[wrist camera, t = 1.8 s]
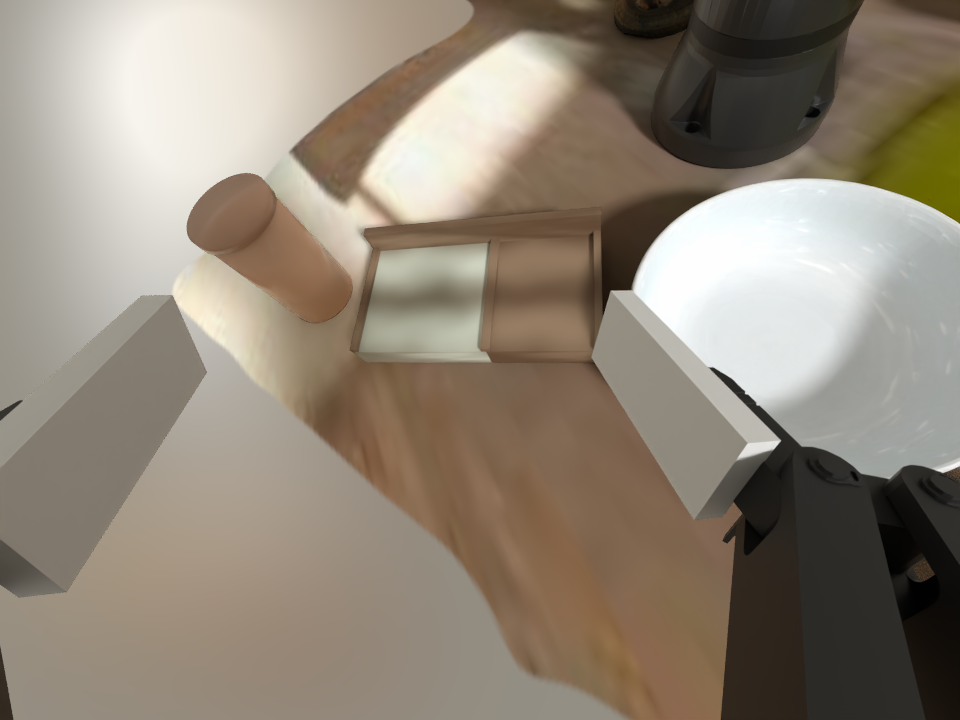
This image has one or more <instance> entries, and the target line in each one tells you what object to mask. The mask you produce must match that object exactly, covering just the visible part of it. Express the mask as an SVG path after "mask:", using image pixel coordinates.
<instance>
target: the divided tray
mask: <svg viewBox="0 0 960 720" xmlns="http://www.w3.org/2000/svg"><path fill="white" fill-rule="evenodd" d="M601 219H602V207H592V208H582V209H571V210H560V211H549V212H538V213H528V214H517V215H506V216H495V217H485V218H474V219H463V220H452V221H441V222H431V223H420V224H409V225H398V226H388V227H377V228H366V229H365V231H364V237H365V238H366V239H367V241H368V242H369V243H370V245H371V246H372V247H373V252H372V256H371V260H370V265H369V269H368V273H367V278H366V282H365V286H364V290H363V295H362V299H361V303H360V308H359V312H358V316H357V321H356V325H355V329H354V334H353V338H352V342H351V347H350V351H352V352H353V353H354V354H356V355H357V356H358V357H360V358H361V359H362V360H364V361H365V362H497V363H595V362H594V361H593V359H592V358H591V357H592V353H593V350H594V346H595V343H596V339H597V336H598V333H599V329H600V326H601V322H602V319H603V309H602V264H601Z"/></svg>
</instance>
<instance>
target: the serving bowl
mask: <svg viewBox="0 0 960 720" xmlns="http://www.w3.org/2000/svg"><path fill="white" fill-rule="evenodd" d="M631 290H632V291H633V292H634V293H635V294H636V295H637V296H638V297H639V298H640V299H641V300H642V301H643V302H644V303H645V304H646V305H647V306H648V307H649V308H650V309H651V310H652V311H653V312H654V313H655V314H656V315H657V316H658V317H659V318H660V319H661V320H662V321H663V322H664V323H665V324H666V325H667V326H668V327H669V328H670V329H671V330H672V331H673V332H674V333H675V334H676V335H677V336H678V337H679V338H680V339H681V340H682V341H683V342H684V343H685V344H686V345H687V346H688V347H689V348H690V349H691V350H692V351H693V352H694V353H695V354H696V355H697V356H698V357H699V358H700V359H701V360H702V362H703V363H704V364H705V365H706V366H707V367H714V368H715V369H717V370H719V371H720V372H722V373H724V374H725V375H727V376H728V377H730V378H732V379H733V380H734V381H735V382H736V383H737V384H738V385H739V386H740V387H741V388H742V389H743V390H744V391H745V394H748V395H749V396H750V397H751V398H752V399H753V400H754V401H755V402H756V405H760V406H761V407H762V408H763V409H764V410H765V411H766V412H767V413H768V414H769V415H770V416H771V417H772V418H773V419H774V420H775V421H776V422H777V423H778V424H779V425H780V426H781V427H782V428H783V429H784V430H785V431H786V432H787V433H788V434H789V435H791V436H792V437H793V438H794V439H795V440H796V441H797V442H798V443H799V444H800V445H801V446H802V447H816V448H819V449H823V450H826V451H829V452H831V453H833V454H835V455H837V456H839V457H841V458H842V459H844V460H845V461H847V462H848V463H850V464H851V465H852V466H854V467H855V468H856V469H857V470H858V471H859V472H860V473H861V474H866V475H871V476H876V477H882V478H887V479H890V478H891V477H892V476H893V475H894V474H895V473H897V472H898V471H899V470H900V469H901V468H902V467H904V466H908V465H918V466H924V467H927V468H930V469H933V470H936V471H940V472H942V473H944V472H947V471H950V470H952V469H954V468H956V467H959V466H960V224H959V223H958V222H956V221H954V220H953V219H951V218H949V217H948V216H946V215H944V214H943V213H941V212H939V211H937V210H935V209H933V208H932V207H929V206H927V205H925V204H923V203H921V202H918V201H916V200H913V199H911V198H908V197H905V196H902V195H899V194H896V193H893V192H890V191H887V190H883V189H880V188H876V187H872V186H868V185H863V184H859V183H854V182H846V181H839V180H830V179H782V180H773V181H766V182H761V183H755V184H751V185H747V186H743V187H739V188H736V189H733V190H729V191H727V192H724V193H721V194H719V195H716V196H714V197H712V198H709V199H707V200H705V201H703V202H701V203H700V204H698V205H696V206H694V207H693V208H691V209H689V210H688V211H686V212H685V213H683V214H682V215H681V216H679V217H678V218H677V219H676V220H674V221H673V222H672V223H671V224H670V225H669V226H667V227H666V228H665V229H664V230H663V231H662V232H661V233H660V235H659V236H658V237H657V238H656V239H655V240H654V242H653V243H652V244H651V246H650V247H649V248H648V250H647V252H646V253H645V255H644V257H643V259H642V260H641V262H640V265H639V267H638V269H637V272H636V274H635V277H634V281H633V284H632V289H631Z"/></svg>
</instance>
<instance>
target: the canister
mask: <svg viewBox="0 0 960 720" xmlns="http://www.w3.org/2000/svg"><path fill="white" fill-rule="evenodd" d="M187 234H188V236H189V239H190V240H191V241H192V242H193V243H194V244H196V245H197V246H198V247H200V248H201V249H202V250H204V251H205V252H207V253H209V254H212V255H215V256H216V257H218V258H219V259H220V260H222V261H223V262H225V263H226V264H227V265H229V266H230V267H231V268H233V269H234V270H236V271H237V272H238V273H240V274H241V275H242V276H244V277H245V278H246V279H248V280H249V281H251V282H252V283H253V284H255V285H256V286H257V287H259V288H260V289H262V290H263V291H264V292H266V293H267V294H268V295H270V296H271V297H273V298H274V299H275V300H277V301H278V302H279V303H281V304H282V305H283V306H285V307H286V308H288V309H289V310H290V311H292V312H293V313H294V314H296V315H297V316H299V317H300V318H301V319H303V320H304V321H307V322H311V323H319V322H323V321H326V320H329V319H331V318H332V317H334V316H335V315H337V314H338V313H339V312H340V311H341V310H342V309H343V308H344V307H345V305H346V304H347V302H348V301H349V298H350V296H351V293H352V281H351V278H350V276H349V275H348V273H347V272H346V271H345V270H344V269H343V268H342V267H341V266H340V265H339V264H338V263H337V262H336V260H335V259H334V258H333V257H332V256H331V255H330V254H329V253H328V252H327V251H326V250H325V249H324V248H323V247H322V246H321V244H320V243H319V242H318V241H317V240H316V239H315V238H314V237H313V236H312V235H311V234H310V233H309V232H308V231H307V230H306V228H305V227H304V226H303V225H302V224H301V223H300V222H299V221H298V220H297V219H296V218H295V217H294V216H293V215H292V214H291V212H290V211H289V210H288V209H287V208H286V207H285V206H284V205H283V204H282V203H281V202H280V201H279V200H278V199H277V198H276V196H275V193H274V191H273V190H272V189H271V188H270V186H269V185H268V184H267V183H266V182H265V181H264V180H263V179H262V178H261V177H259V176H258V175H255V174H250V173H249V174H248V173H244V174H238V175H234V176H231V177H228V178H226V179H224V180H222V181H220V182H219V183H217V184H216V185H214V186H213V187H212V188H210V189H209V190H208V191H207V192H206V193H205V194H204V195H203V196H202V197H201V198H200V199H199V200H198V202H197V203H196V204H195V206H194V207H193V209H192V211H191V213H190V215H189V218H188V222H187Z"/></svg>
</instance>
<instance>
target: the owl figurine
mask: <svg viewBox="0 0 960 720" xmlns="http://www.w3.org/2000/svg"><path fill="white" fill-rule="evenodd" d="M693 3H694V0H617V2H616V5H615V13H614V14H615V15H614V16H615V23H616V26H617V27H618V29H619V28H620V29H621V31H622V32H623V33H624V34H625V32H626V33H628V34H636V35H643V36H646V37H655V38H659V37H664V36H669V35H672V34H675V33H678V32H680V31H682V30H684V29H686V28H687V27H688V25H689V20H690V16H691V12H692V7H693Z"/></svg>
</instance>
